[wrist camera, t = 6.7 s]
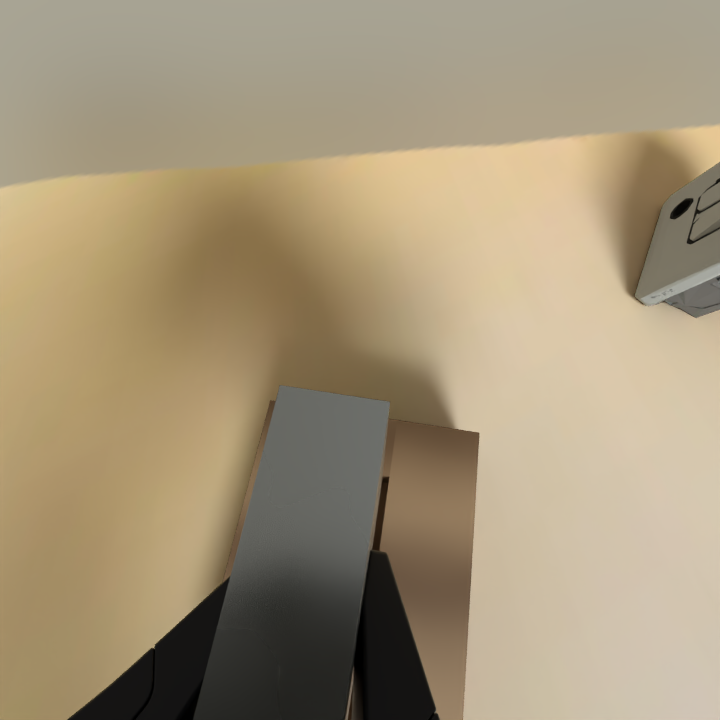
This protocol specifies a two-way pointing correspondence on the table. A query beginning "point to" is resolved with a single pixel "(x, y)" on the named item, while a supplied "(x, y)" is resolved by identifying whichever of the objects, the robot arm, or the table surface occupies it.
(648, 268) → the electrical switch
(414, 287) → the table surface
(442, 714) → the walnut slot box
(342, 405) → the gray rectangular metal block
